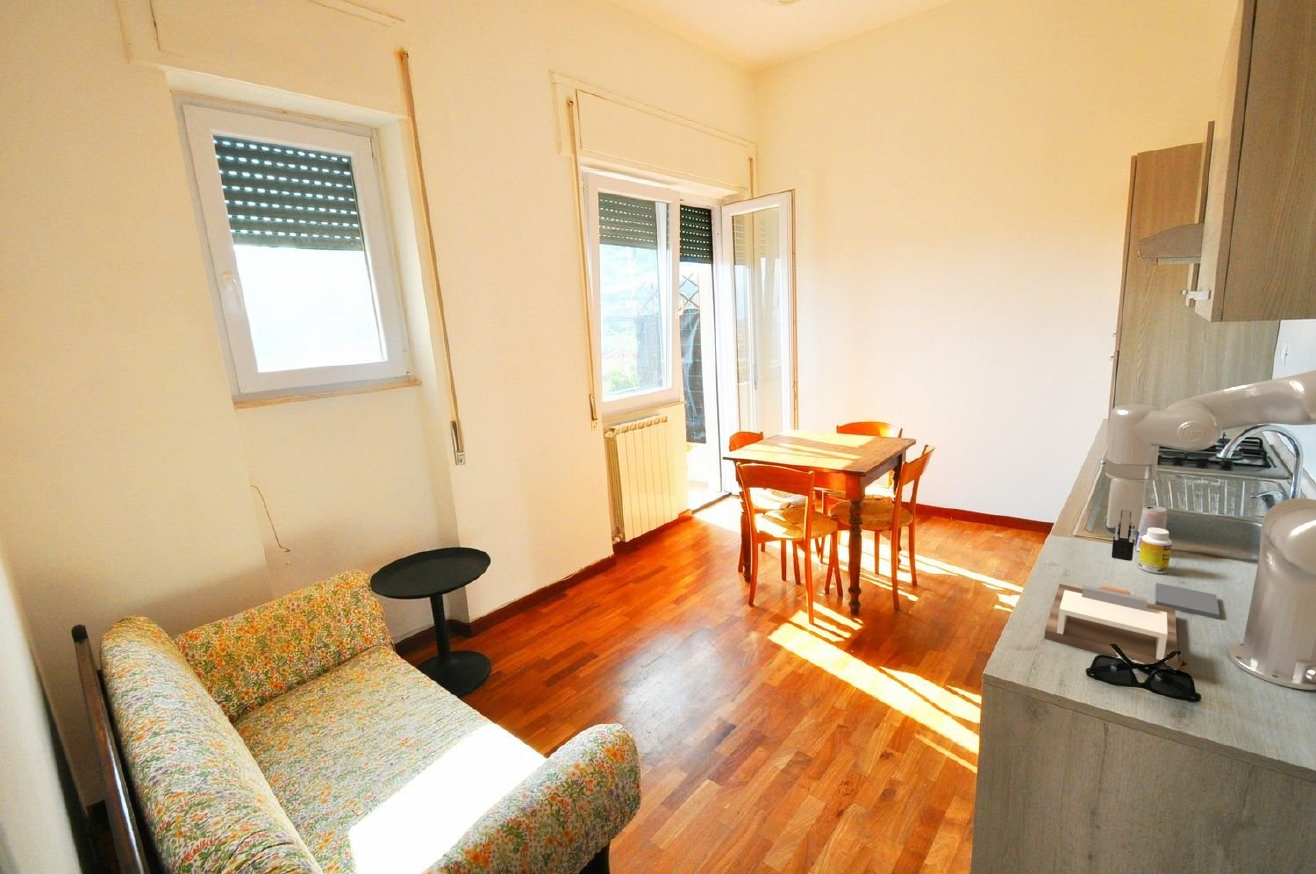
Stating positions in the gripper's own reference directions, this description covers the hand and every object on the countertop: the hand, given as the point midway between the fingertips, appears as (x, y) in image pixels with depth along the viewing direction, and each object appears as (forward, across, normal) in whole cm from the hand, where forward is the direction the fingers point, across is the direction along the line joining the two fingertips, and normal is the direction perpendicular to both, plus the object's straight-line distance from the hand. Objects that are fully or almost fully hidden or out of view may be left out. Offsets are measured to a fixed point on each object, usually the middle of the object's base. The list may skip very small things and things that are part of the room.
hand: (1121, 557), depth 114 cm
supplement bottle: (+16, -36, +6) cm, 40 cm away
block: (+16, -5, -1) cm, 17 cm away
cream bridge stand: (+14, +7, -1) cm, 15 cm away
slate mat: (+16, -21, +11) cm, 29 cm away
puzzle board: (+16, -1, -1) cm, 16 cm away
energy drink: (+16, -48, +5) cm, 51 cm away
